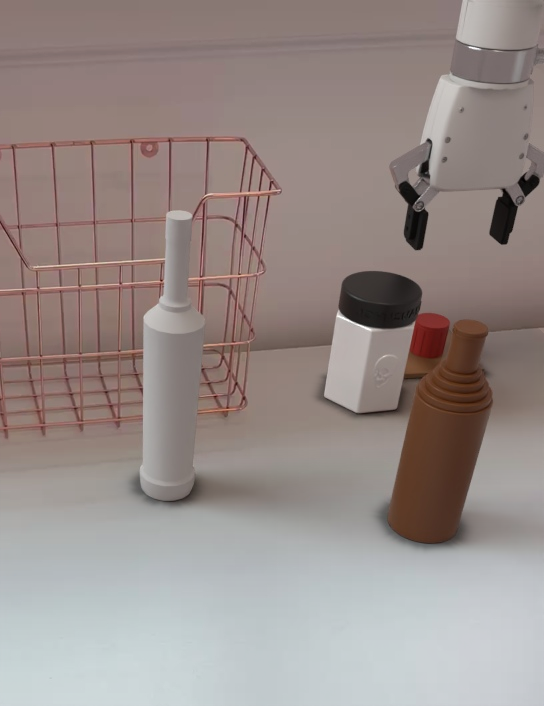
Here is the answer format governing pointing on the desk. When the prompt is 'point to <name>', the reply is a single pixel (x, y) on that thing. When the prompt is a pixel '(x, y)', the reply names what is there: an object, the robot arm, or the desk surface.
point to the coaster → (426, 362)
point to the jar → (372, 340)
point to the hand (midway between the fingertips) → (455, 242)
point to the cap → (429, 335)
